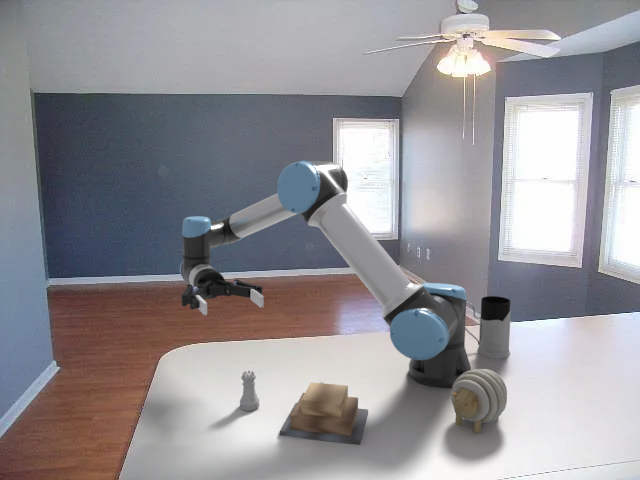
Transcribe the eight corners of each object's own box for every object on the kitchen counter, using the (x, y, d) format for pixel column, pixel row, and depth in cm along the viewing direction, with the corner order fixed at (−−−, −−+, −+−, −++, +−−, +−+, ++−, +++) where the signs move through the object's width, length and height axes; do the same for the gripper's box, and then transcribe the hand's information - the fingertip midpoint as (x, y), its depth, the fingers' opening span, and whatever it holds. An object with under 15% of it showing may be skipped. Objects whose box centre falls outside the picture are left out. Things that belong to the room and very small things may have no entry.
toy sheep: (435, 429, 103) (436, 377, 101) (473, 398, 115) (474, 352, 113) (486, 448, 96) (488, 393, 94) (520, 414, 108) (522, 364, 107)
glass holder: (510, 359, 137) (513, 305, 134) (455, 354, 141) (457, 301, 139) (509, 348, 145) (512, 296, 142) (458, 342, 149) (459, 293, 147)
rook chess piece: (256, 412, 111) (254, 378, 109) (236, 411, 111) (235, 376, 110) (262, 403, 115) (261, 369, 114) (243, 401, 116) (242, 368, 114)
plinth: (368, 413, 109) (368, 382, 108) (359, 444, 98) (359, 410, 97) (295, 406, 113) (295, 376, 112) (279, 435, 101) (278, 402, 100)
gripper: (251, 290, 142) (283, 313, 124) (159, 300, 130) (180, 328, 112) (251, 263, 141) (284, 284, 123) (158, 272, 129) (179, 295, 111)
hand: (234, 305), depth 118 cm, fingers open, 13 cm apart
